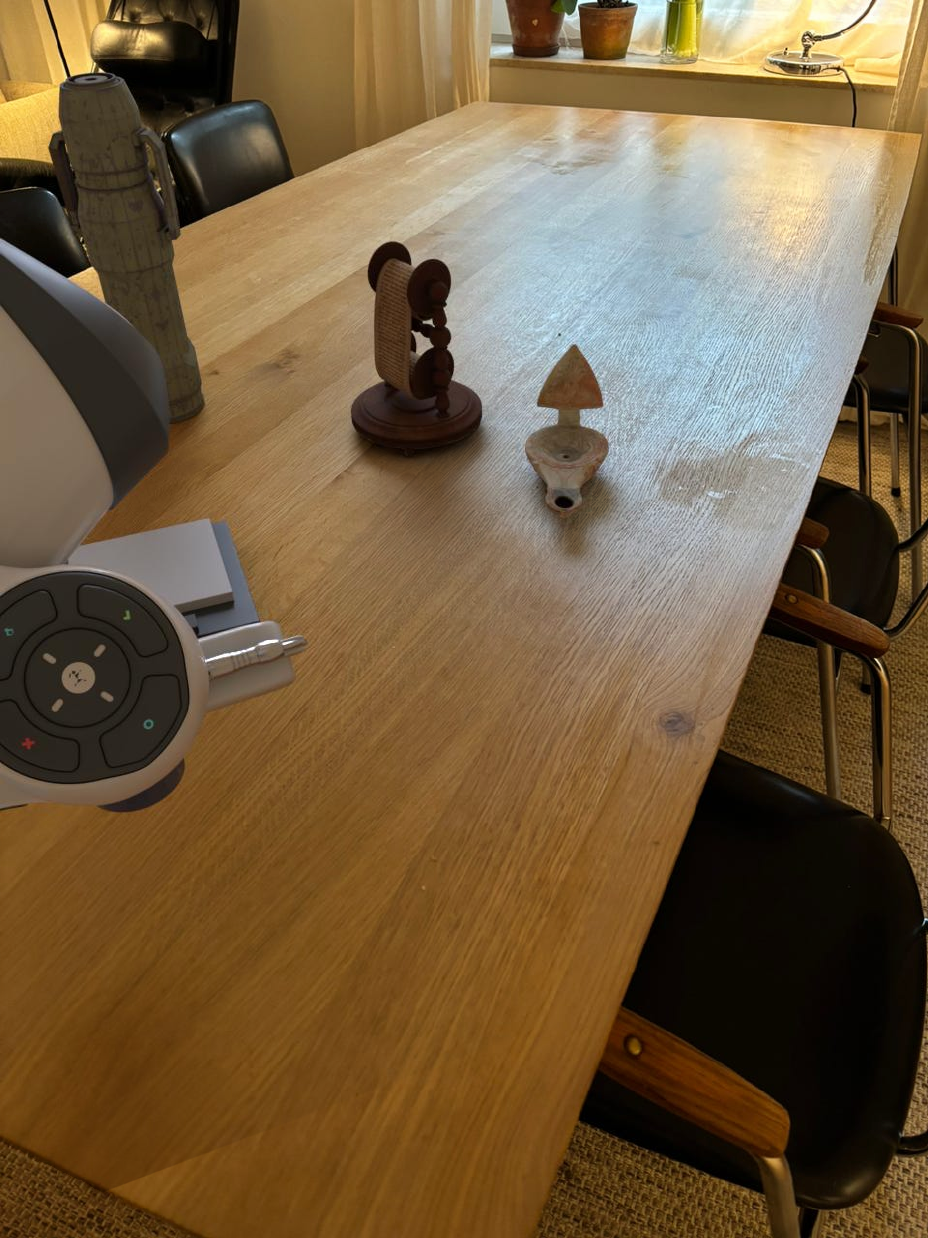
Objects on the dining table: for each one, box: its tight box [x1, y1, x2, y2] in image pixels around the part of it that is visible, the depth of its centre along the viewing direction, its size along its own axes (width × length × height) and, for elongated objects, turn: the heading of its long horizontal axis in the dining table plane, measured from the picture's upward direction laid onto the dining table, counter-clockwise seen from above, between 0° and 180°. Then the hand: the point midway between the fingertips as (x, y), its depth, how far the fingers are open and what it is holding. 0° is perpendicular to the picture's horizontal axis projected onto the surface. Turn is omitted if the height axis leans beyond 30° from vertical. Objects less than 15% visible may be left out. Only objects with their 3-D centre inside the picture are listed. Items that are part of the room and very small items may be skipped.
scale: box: [64, 517, 261, 639], centre depth 88 cm, size 16×16×3 cm
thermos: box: [47, 71, 205, 425], centre depth 106 cm, size 9×12×35 cm
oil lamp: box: [524, 343, 610, 519], centre depth 101 cm, size 9×21×10 cm, turn 173°
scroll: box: [350, 240, 483, 459], centre depth 106 cm, size 15×15×20 cm
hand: (113, 713), depth 60 cm, fingers closed on cup, 6 cm apart
